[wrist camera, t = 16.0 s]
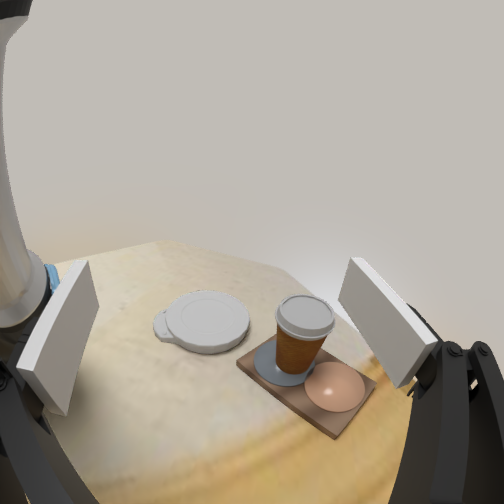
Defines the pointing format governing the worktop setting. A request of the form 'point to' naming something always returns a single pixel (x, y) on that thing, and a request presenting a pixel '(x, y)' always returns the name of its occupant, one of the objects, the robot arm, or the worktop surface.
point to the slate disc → (276, 367)
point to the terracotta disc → (334, 387)
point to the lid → (203, 322)
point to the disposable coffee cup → (301, 331)
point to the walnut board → (298, 398)
